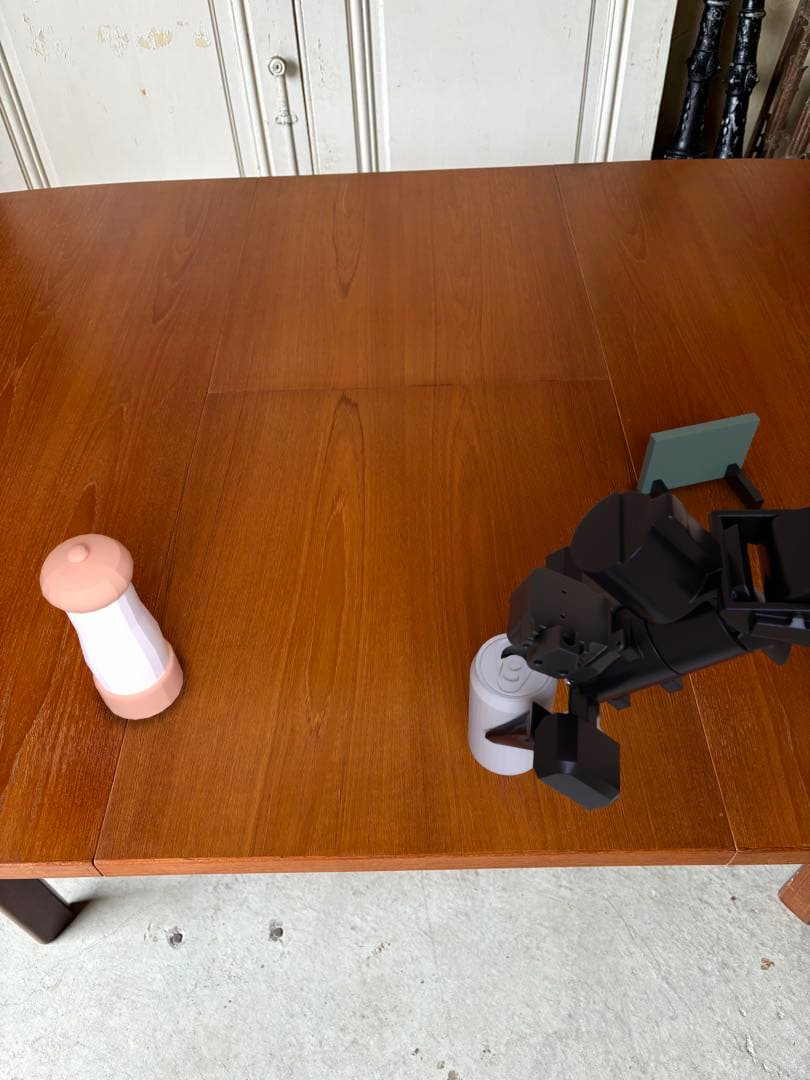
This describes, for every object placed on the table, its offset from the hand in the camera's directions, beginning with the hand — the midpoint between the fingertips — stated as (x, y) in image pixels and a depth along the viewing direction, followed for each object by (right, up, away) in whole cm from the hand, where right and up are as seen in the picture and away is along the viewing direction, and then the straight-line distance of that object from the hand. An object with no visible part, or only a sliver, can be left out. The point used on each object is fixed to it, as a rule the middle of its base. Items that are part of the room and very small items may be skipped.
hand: (492, 700), depth 63 cm
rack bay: (+26, +17, +27) cm, 41 cm away
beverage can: (+2, -5, +5) cm, 7 cm away
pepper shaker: (-31, -1, +13) cm, 34 cm away
